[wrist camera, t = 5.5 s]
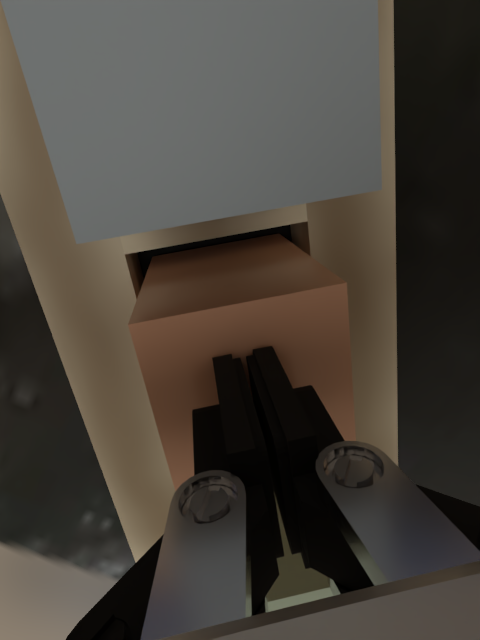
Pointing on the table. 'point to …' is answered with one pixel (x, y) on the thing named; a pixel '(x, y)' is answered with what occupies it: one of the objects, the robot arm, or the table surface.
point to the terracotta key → (238, 331)
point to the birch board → (127, 278)
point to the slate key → (200, 105)
